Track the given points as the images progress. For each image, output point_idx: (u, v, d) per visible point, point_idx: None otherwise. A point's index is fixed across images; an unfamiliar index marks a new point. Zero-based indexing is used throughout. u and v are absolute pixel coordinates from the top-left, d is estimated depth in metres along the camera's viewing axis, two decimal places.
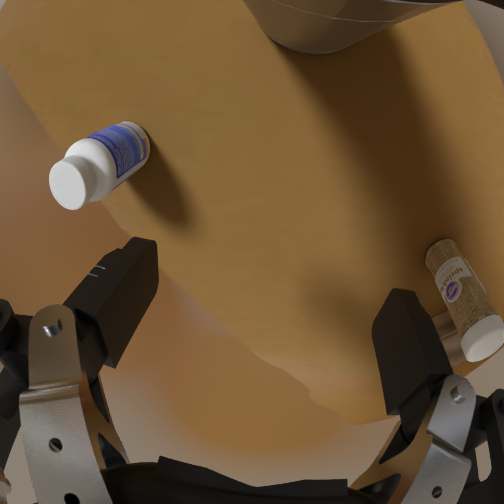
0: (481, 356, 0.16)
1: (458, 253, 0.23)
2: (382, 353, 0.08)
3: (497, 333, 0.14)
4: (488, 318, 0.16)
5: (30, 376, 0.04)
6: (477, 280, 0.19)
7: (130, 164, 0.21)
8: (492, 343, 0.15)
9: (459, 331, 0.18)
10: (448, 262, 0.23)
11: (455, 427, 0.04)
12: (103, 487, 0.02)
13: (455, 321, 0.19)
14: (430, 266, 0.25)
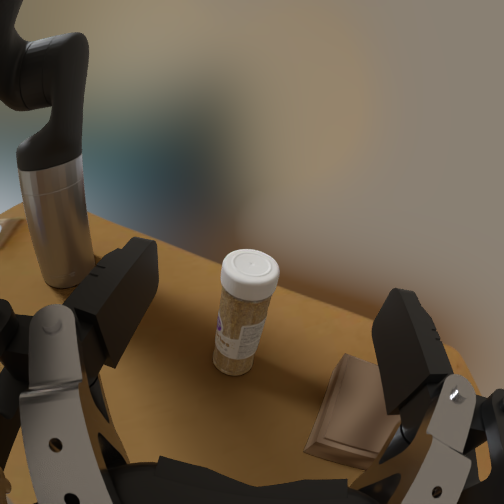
0: (262, 273, 0.21)
1: None
2: (382, 353, 0.08)
3: (238, 251, 0.23)
4: None
5: (30, 376, 0.04)
6: None
7: None
8: (251, 259, 0.22)
9: (231, 302, 0.22)
10: None
11: (455, 427, 0.04)
12: (103, 487, 0.02)
13: (229, 313, 0.22)
14: (219, 360, 0.27)
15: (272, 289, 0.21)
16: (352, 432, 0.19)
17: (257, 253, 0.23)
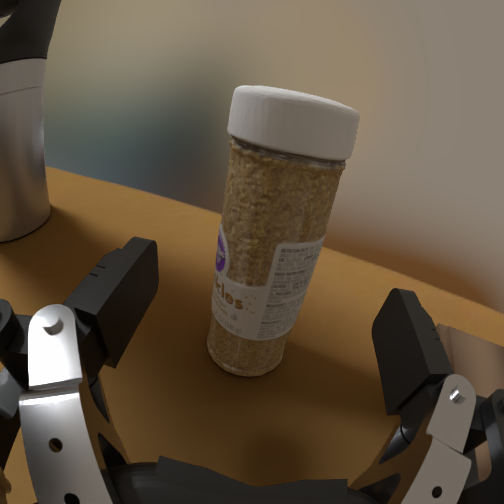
0: None
1: None
2: (382, 353, 0.08)
3: None
4: None
5: (30, 376, 0.04)
6: None
7: None
8: None
9: (254, 173, 0.09)
10: None
11: (455, 427, 0.04)
12: (103, 487, 0.02)
13: (248, 207, 0.09)
14: (220, 346, 0.13)
15: (351, 140, 0.08)
16: (488, 457, 0.06)
17: None
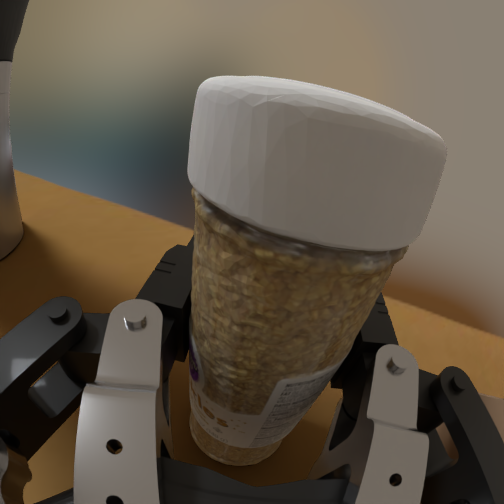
0: None
1: None
2: None
3: None
4: None
5: (100, 367, 0.04)
6: None
7: None
8: None
9: (236, 273, 0.04)
10: None
11: (400, 401, 0.04)
12: (103, 487, 0.02)
13: (228, 326, 0.05)
14: (203, 440, 0.09)
15: (432, 201, 0.04)
16: None
17: None
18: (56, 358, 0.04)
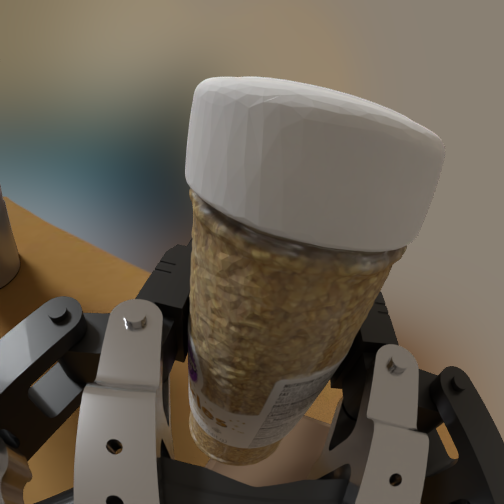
0: None
1: None
2: None
3: None
4: None
5: (100, 367, 0.04)
6: None
7: None
8: None
9: (233, 274, 0.04)
10: None
11: (400, 402, 0.04)
12: (103, 487, 0.02)
13: (225, 326, 0.05)
14: (203, 440, 0.09)
15: (430, 202, 0.04)
16: None
17: None
18: (56, 358, 0.04)
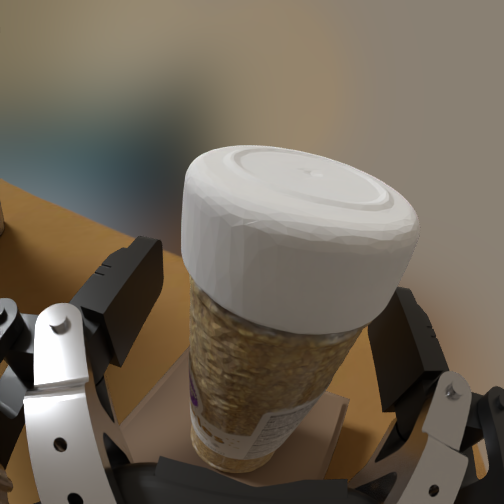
0: (367, 199, 0.04)
1: None
2: (378, 350, 0.08)
3: (252, 146, 0.06)
4: None
5: (36, 374, 0.04)
6: None
7: None
8: (303, 163, 0.05)
9: (225, 340, 0.05)
10: None
11: (451, 424, 0.04)
12: (103, 487, 0.02)
13: (220, 373, 0.06)
14: (203, 451, 0.10)
15: (401, 277, 0.04)
16: None
17: (317, 157, 0.06)
18: (3, 354, 0.04)
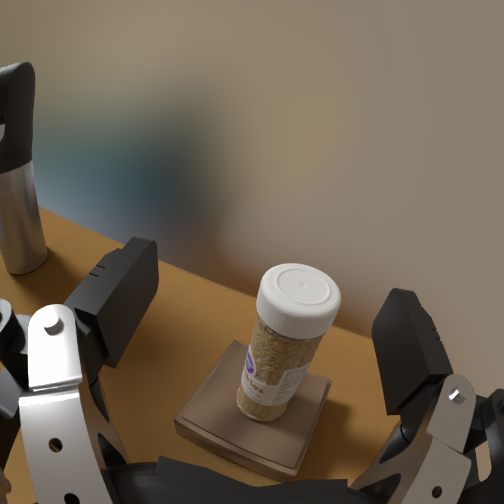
0: (320, 299, 0.14)
1: None
2: (382, 353, 0.08)
3: (281, 266, 0.16)
4: None
5: (30, 376, 0.04)
6: None
7: None
8: (301, 278, 0.15)
9: (273, 341, 0.15)
10: None
11: (455, 427, 0.04)
12: (103, 487, 0.02)
13: (269, 354, 0.15)
14: (246, 406, 0.19)
15: (332, 321, 0.14)
16: (214, 418, 0.20)
17: (307, 269, 0.16)
18: None
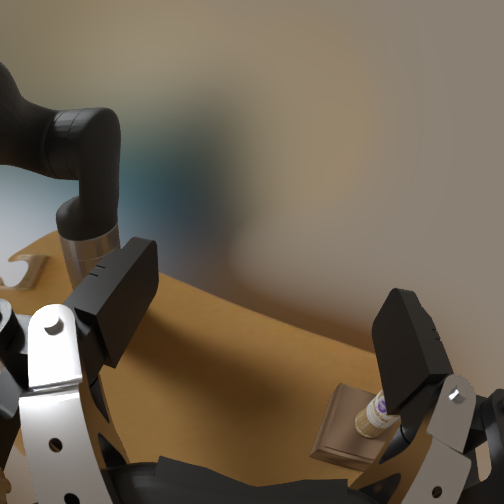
0: None
1: None
2: (382, 353, 0.08)
3: None
4: None
5: (30, 376, 0.04)
6: None
7: None
8: None
9: None
10: (367, 410, 0.27)
11: (455, 427, 0.04)
12: (103, 487, 0.02)
13: None
14: (367, 430, 0.26)
15: None
16: (344, 442, 0.26)
17: None
18: None
